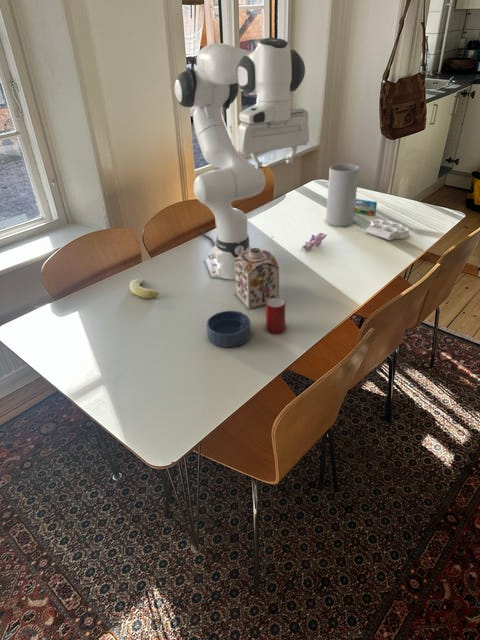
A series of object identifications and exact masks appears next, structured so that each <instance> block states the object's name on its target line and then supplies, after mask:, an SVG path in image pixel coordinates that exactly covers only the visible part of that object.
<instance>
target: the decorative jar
mask: <svg viewBox="0 0 480 640" xmlns="http://www.w3.org/2000/svg"><path fill="white" fill-rule="evenodd" d="M234 269H235V280H234V287H235V294H236V295H237V297H238V298H239V299H240V300H241V301H242V303H243V304H244V305H245V306H246V307H247V308H248V309H249V310H250V309H254V308H258V307H261V306H266V302H267V300H269V299H271V298H280V266H279V263H278V261H277V260H276V257H275V255H273V253H272V252H271V251H269V250H266V249H262V248H261V247H251V249H250V250H248V251H244V252H242V253H241V254H240V255H239V256H238V257H237V258H236V259H235V261H234Z"/></svg>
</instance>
